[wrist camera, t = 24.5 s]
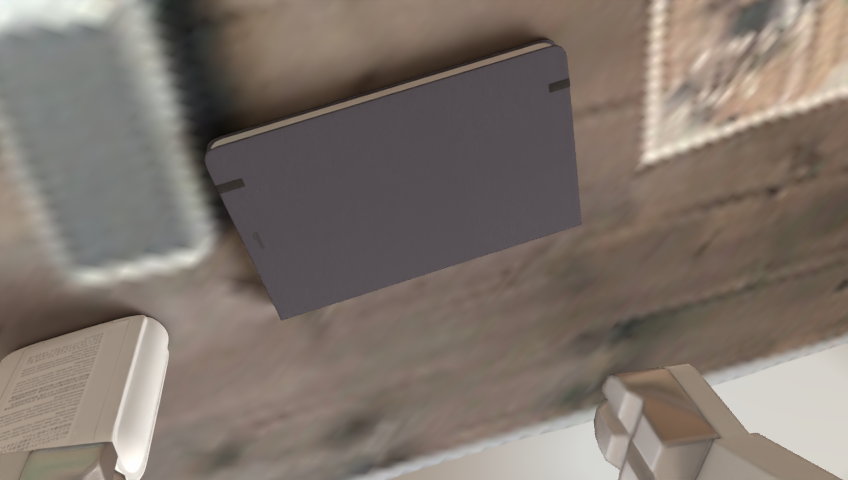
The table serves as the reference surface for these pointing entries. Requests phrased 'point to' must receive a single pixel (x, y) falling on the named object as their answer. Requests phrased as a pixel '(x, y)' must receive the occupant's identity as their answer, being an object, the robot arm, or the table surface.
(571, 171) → the notebook
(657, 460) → the robot arm
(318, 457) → the table surface
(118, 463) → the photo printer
